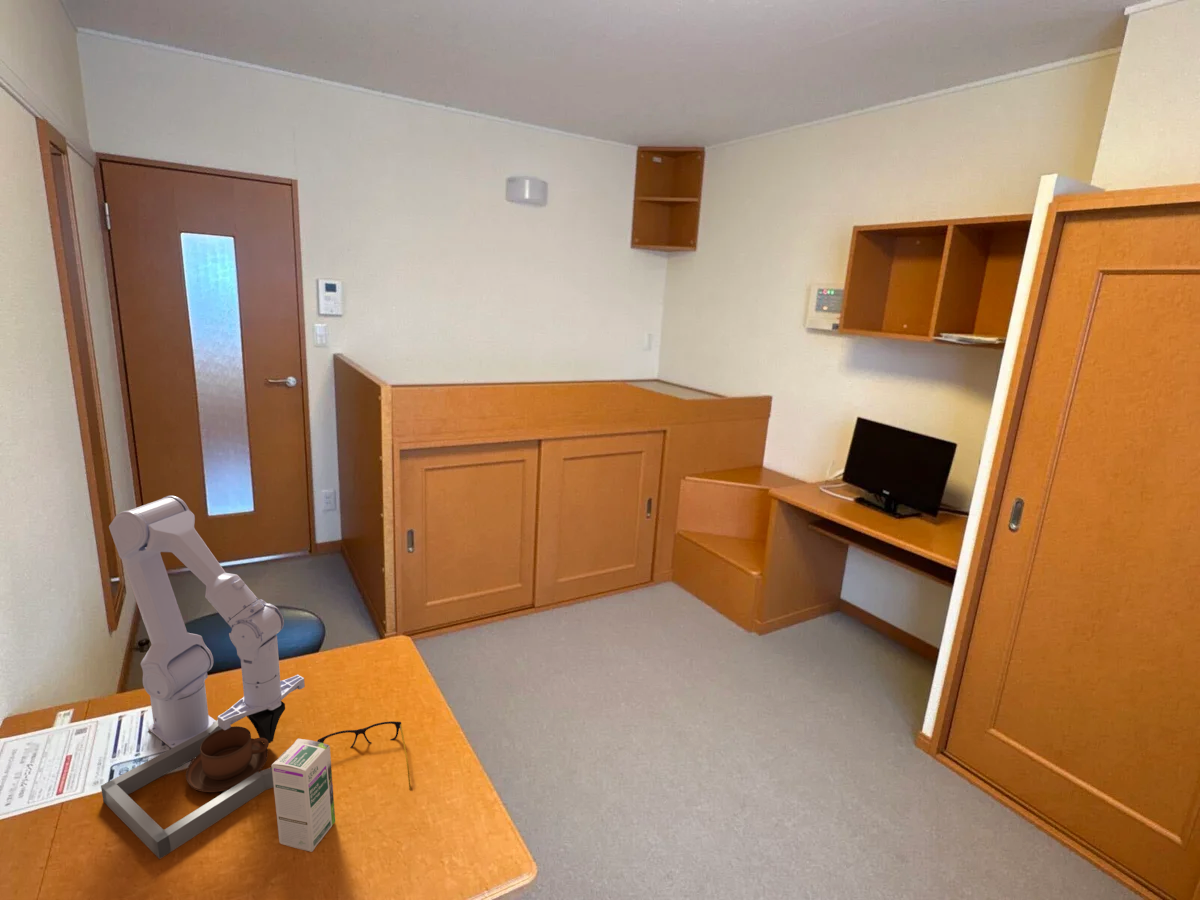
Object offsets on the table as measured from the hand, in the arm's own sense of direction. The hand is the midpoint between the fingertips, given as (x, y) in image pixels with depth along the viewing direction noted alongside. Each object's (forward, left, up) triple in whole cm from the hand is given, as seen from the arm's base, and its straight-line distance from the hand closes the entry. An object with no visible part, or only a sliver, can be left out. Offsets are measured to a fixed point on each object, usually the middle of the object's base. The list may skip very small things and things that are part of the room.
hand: (266, 740), depth 111 cm
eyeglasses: (+18, +6, -2) cm, 19 cm away
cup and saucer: (0, -7, -2) cm, 7 cm away
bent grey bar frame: (0, -12, -1) cm, 12 cm away
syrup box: (+22, -7, -2) cm, 23 cm away
